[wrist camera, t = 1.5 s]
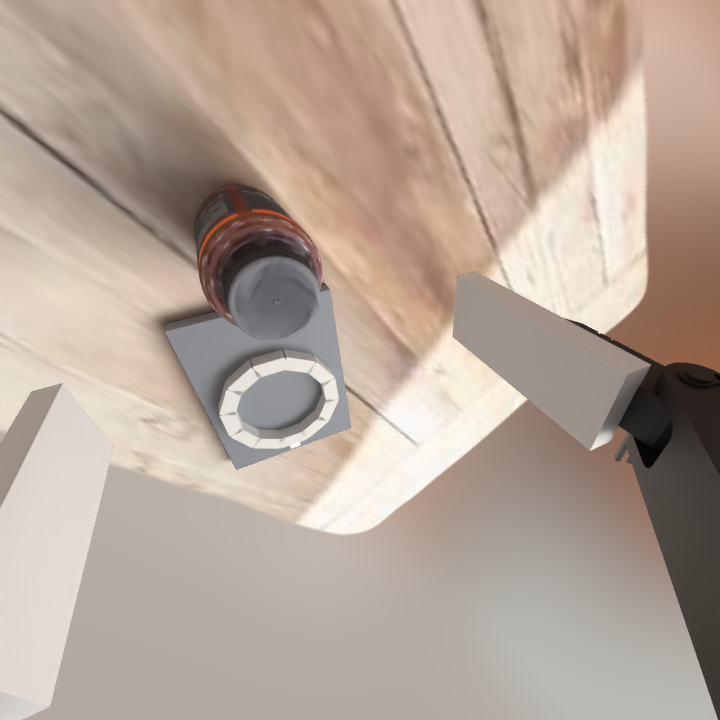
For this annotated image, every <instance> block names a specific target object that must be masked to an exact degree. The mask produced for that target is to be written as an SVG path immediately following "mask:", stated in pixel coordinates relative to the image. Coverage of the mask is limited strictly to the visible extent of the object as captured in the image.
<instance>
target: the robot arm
mask: <svg viewBox="0 0 720 720" xmlns="http://www.w3.org/2000/svg"><path fill="white" fill-rule="evenodd" d="M453 338H455V339H456V340H457V341H458V342H460V343H461V344H462V345H463V346H464V347H466V348H467V349H468V350H469V351H470V352H472V353H473V354H474V355H475V356H476V357H478V358H479V359H480V360H481V361H482V362H484V363H485V364H486V365H487V366H489V367H490V368H491V369H492V370H493V371H495V372H496V373H497V374H498V375H499V376H501V377H502V378H503V379H504V380H505V381H507V382H508V383H509V384H510V385H511V386H513V387H514V388H515V389H516V390H517V391H519V392H520V393H521V394H522V395H524V396H525V397H526V398H527V399H528V400H530V401H531V402H532V403H533V404H534V405H536V406H537V407H538V408H539V409H540V410H542V411H543V412H544V413H545V414H546V415H548V416H549V417H550V418H551V419H553V420H554V421H555V422H556V423H557V424H559V425H560V426H561V427H562V428H564V429H565V430H566V431H567V432H568V433H569V434H571V435H572V436H573V437H574V438H575V439H577V440H578V441H579V442H580V443H582V444H583V445H584V446H585V447H586V448H588V449H589V450H590V451H591V450H593V449H595V448H597V447H599V446H601V445H603V444H605V443H607V442H609V441H611V439H612V437H613V435H614V433H615V432H616V430H617V428H618V426H620V427H621V428H623V429H624V430H626V431H627V432H628V433H627V435H626V437H625V438H624V440H623V442H622V444H621V445H620V447H619V449H618V451H617V452H616V454H615V460H616V461H620V460H621V458H622V457H623V455H624V453H625V452H627V451H628V454H629V458H628V459H627V461H626V462H627V463H631V464H632V465H633V468H634V471H635V474H636V477H637V480H638V483H639V486H640V489H641V492H642V495H643V498H644V501H645V504H646V507H647V510H648V513H649V516H650V519H651V522H652V525H653V528H654V531H655V534H656V537H657V539H658V543H659V545H660V548H661V551H662V554H663V557H664V560H665V563H666V566H667V569H668V572H669V575H670V578H671V581H672V584H673V587H674V590H675V593H676V596H677V599H678V602H679V605H680V608H681V611H682V614H683V617H684V620H685V623H686V626H687V629H688V632H689V635H690V637H691V640H692V643H693V646H694V649H695V652H696V655H697V658H698V661H699V664H700V667H701V670H702V673H703V676H704V679H705V682H706V685H707V688H708V691H709V694H710V697H711V700H712V703H713V706H714V709H715V711H716V715H717V718H718V720H720V373H718V372H716V371H714V370H712V369H709V368H706V367H704V366H700V365H696V364H690V363H672V364H669V365H667V366H663V365H661V364H659V363H657V362H655V361H654V360H651V359H650V358H648V357H646V356H644V355H642V354H640V353H638V352H636V351H634V350H632V349H630V348H628V347H627V346H625V345H623V344H621V343H619V342H617V341H615V340H613V341H612V340H611V338H609V337H607V336H605V335H603V334H599V333H598V331H596V330H594V329H592V328H590V327H588V326H586V325H584V324H582V323H578V322H575V321H572V320H568V319H565V318H562V317H560V316H558V315H556V314H555V313H553V312H551V311H549V310H547V309H545V308H543V307H541V306H539V305H538V304H536V303H534V302H532V301H530V300H528V299H526V298H524V297H522V296H521V295H519V294H517V293H515V292H513V291H511V290H509V289H507V288H505V287H504V286H502V285H500V284H498V283H496V282H494V281H492V280H490V279H489V278H487V277H485V276H483V275H481V274H479V273H477V272H475V271H473V272H470V273H466V274H462V275H459V276H458V278H457V290H456V302H455V313H454V325H453ZM113 447H114V446H113V444H112V443H111V442H110V441H109V439H108V438H107V437H106V436H105V435H104V433H103V432H102V431H101V430H100V428H99V427H98V426H97V425H96V423H95V422H94V421H93V420H92V419H91V417H90V416H89V415H88V414H87V412H86V411H85V410H84V409H83V407H82V406H81V405H80V404H79V403H78V401H77V400H76V399H75V398H74V396H73V395H72V394H71V393H70V391H69V390H68V389H67V388H66V387H65V385H64V384H63V383H62V384H58V385H54V386H51V387H47V388H43V389H39V390H36V391H32V392H31V393H30V395H29V397H28V398H27V400H26V402H25V403H24V405H23V407H22V408H21V410H20V412H19V413H18V415H17V417H16V418H15V420H14V422H13V423H12V425H11V427H10V428H9V430H8V432H7V433H6V435H5V437H4V438H3V440H2V442H1V443H0V720H22V719H24V718H26V717H28V716H30V715H33V714H35V713H37V712H39V711H41V710H43V709H45V708H47V707H49V706H50V704H51V700H52V696H53V692H54V688H55V683H56V679H57V675H58V671H59V667H60V663H61V659H62V655H63V651H64V647H65V643H66V638H67V634H68V630H69V626H70V622H71V618H72V614H73V610H74V606H75V602H76V598H77V594H78V590H79V585H80V581H81V577H82V573H83V569H84V565H85V561H86V557H87V553H88V548H89V545H90V540H91V536H92V532H93V528H94V524H95V520H96V516H97V512H98V508H99V503H100V500H101V495H102V492H103V487H104V483H105V479H106V475H107V471H108V467H109V463H110V459H111V455H112V451H113Z"/></svg>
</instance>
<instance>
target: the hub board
mask: <svg viewBox="0 0 720 720" xmlns="http://www.w3.org/2000/svg"><path fill="white" fill-rule="evenodd" d="M320 293H321V299H320V306H319V310H318V312H317V314H316V316H315V318H314V320H313V321H312V323H311V324H310V325H309V326H308V327H307V328H306V329H305V330H304V331H302V332H301V333H300V334H298V335H296V336H294V337H291V338H289V339H286V340H282V341H264V340H259V339H256V338H254V337H251V336H250V335H248V334H246V333H245V332H243V331H242V330H241V329H240V328H239V327H237V326H235V325H233V324H231V323H229V322H228V321H226V320H225V319H224V318H223V317H221V316H220V315H219V314H218V313H217V312H216V311H214V312H210V313H206V314H202V315H198V316H194V317H191V318H187V319H183V320H179V321H175V322H171V323H167V324H165V334H166V336H167V338H168V340H169V341H170V343H171V345H172V347H173V349H174V351H175V353H176V355H177V357H178V359H179V361H180V363H181V365H182V366H183V368H184V370H185V372H186V374H187V376H188V378H189V380H190V382H191V384H192V386H193V388H194V390H195V392H196V393H197V395H198V397H199V399H200V401H201V403H202V405H203V407H204V409H205V411H206V413H207V415H208V417H209V418H210V420H211V422H212V424H213V426H214V428H215V430H216V432H217V434H218V436H219V438H220V440H221V442H222V443H223V445H224V447H225V449H226V451H227V453H228V455H229V457H230V459H231V461H232V463H233V465H234V467H235V469H236V470H238V469H240V468H243V467H246V466H248V465H251V464H254V463H257V462H259V461H262V460H265V459H268V458H270V457H273V456H276V455H278V454H281V453H284V452H287V451H289V450H292V449H295V448H298V447H300V446H303V445H306V444H308V443H311V442H314V441H317V440H319V439H322V438H325V437H327V436H330V435H333V434H336V433H338V432H341V431H344V430H347V429H349V428H351V423H350V416H349V410H348V403H347V397H346V390H345V384H344V377H343V371H342V364H341V358H340V351H339V345H338V338H337V332H336V325H335V319H334V312H333V306H332V299H331V292H330V289H329V288H328V286H327V285H326V284H322V285H321V289H320Z"/></svg>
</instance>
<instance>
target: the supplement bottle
mask: <svg viewBox="0 0 720 720" xmlns="http://www.w3.org/2000/svg"><path fill="white" fill-rule="evenodd" d="M195 239H196V248H197V260H198V261H197V263H198V270H199V277H200V282H201V286H202V289H203V292H204V294H205V296H206V298H207V300H208V302H209V304H210V305H211V306H212V308H213V309H214V310H215V311H216V312H217V313H218V314H219V315H220V316H221V317H223V318H224V319H225V320H226V321H228V322H229V323H231V324H233V325H235V326H237V327H239V328H240V329H241V330H242V331H243V332H245V333H246V334H248V335H250V336H251V337H254V338H256V339H259V340H264V341H282V340H286V339H289V338H291V337H294V336H296V335H298V334H300V333H301V332H302V331H304V330H305V329H306V328H307V327H308V326H309V325H310V324H311V323H312V321H313V320H314V318H315V316H316V314H317V312H318V310H319V306H320V299H321V293H320V289H321V284H322V277H323V272H322V263H321V259H320V255H319V252H318V250H317V248H316V246H315V245H314V243H313V241H312V240H311V238H310V237H309V236H308V234H307V233H306V232H305V231H304V230H303V229H302V228H301V227H300V226H299V225H298V224H297V223H296V222H295V221H294V220H293V219H292V218H291V216H290V215H289V214H287V213H286V212H285V211H284V210H283V209H282V208H281V207H280V206H279V205H278V204H277V203H276V202H275V201H274V200H273V199H272V198H271V197H270V196H268V195H266V194H265V193H263V192H261V191H259V190H257V189H255V188H252V187H248V186H229V187H225V188H221V189H219V190H217V191H215V192H214V193H212V194H211V195H210V196H209V197H208V198H207V199H206V200H205V201H204V202H203V204H202V205H201V207H200V209H199V212H198V214H197V217H196V222H195Z"/></svg>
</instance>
